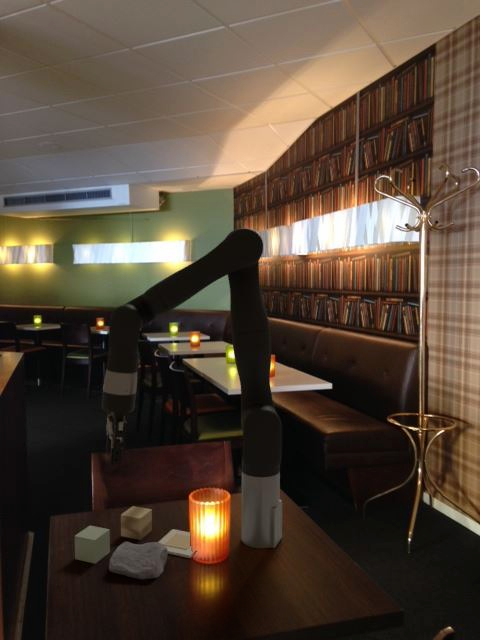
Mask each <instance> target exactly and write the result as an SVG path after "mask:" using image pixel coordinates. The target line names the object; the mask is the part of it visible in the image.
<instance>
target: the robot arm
mask: <svg viewBox="0 0 480 640" xmlns="http://www.w3.org/2000/svg"><path fill="white" fill-rule="evenodd" d="M263 252H264V242H263V239H262V237H261V235H260V234H259V233H258V232H257V231H256V230H254V229H251V228H248V227H240V228H239V227H238V228H236V229H234V230H232V231H230V232H229V233H228V234H227V236H226V237H225V238H224V239H223V240H222V241H220V243H219V244H218V245H216V246H215V247H214V248H213V249H211V250H210V251H209V252H208V253H206V254H204V255H203V256H202V257H200V258H199V259H198V260H195V261H194V262H192V263H190V264H188V265H187V266H185V267H183V268H181V269H180V270H178V271H175V272H174V273H172V274H170V275H169V276H167V277H165V278H163V279H161V280H160V281H159V282H157V283H156V284H154V285H153V286H150V287H149V288H148V289H147V290H145V292H143V293H142V294H140V295H138V296H137V297H135V298H133V299H131V300H129V301H127V302H126V303H124V304H123V305H119V306H118V307H115V309H113V311H112V312H111V315H110V317H109V318H110V319H109V324H108V325H109V326H108V343H109V344H108V346H109V347H108V348H109V349H108V352H107V360H106V361H107V362H106V370H105V375H104V380H103V390H102V396H101V397H102V399H101V409H102V410H103V411H104V412H107V418H106V426H105V431H106V437H107V438H106V447H105V448H106V449H105V450H106V452H107V453H110V459H109V462H110V465H113V466H114V465H120V464H121V461H122V452H123V451H122V450H123V449H125V447H126V444H125V443H126V433H127V426H128V423H127V419H126V416H125V414H127V413H129V414H130V413H131V412H133V411H134V410H135V405H136V397H137V389H138V387H137V386H138V367H139V358H140V357H139V356H140V352H139V349H138V348H139V341H140V340H139V339H140V332H141V329H143V328H144V327H146V326H147V325H148V324H149V323H151V322H153V321H154V320H156V319H157V318H158V317H162V316H163V315H166V314H168V313H169V312H170V311H173V310H174V309H176V308H177V307H179V306H181V305H182V304H183V303H185V302H187V301H189V300H190V299H191V298H193V297H194V296H195V295H197V294H198V293H200V292H202V291H203V290H204V289H205V288H207V287H208V286H210V285H212V284H213V283H215V282H216V281H218V280H219V279H221V278H223V277H225V276H227V279H228V284H229V285H228V286H229V292H230V293H229V294H230V297H229V299H230V300H229V302H230V304H229V305H230V311H229V314H230V330H231V339H232V340H231V341H232V349H233V355H234V356H233V357H234V360H235V366H236V371H237V375H238V378H239V385H240V402H241V404H240V406H241V407H240V426H241V429H242V458H241V532H240V533H241V541H242V543H243V544H244V545H246V546H247V547H251V548H256V549H269V548H271V549H275V548H277V545H278V544H279V543H280V541H281V539H282V538H283V500H282V499H280V497H281V493H280V491H281V489H280V488H281V484H280V482H281V481H280V480H281V479H280V478H281V473H280V472H281V469H280V468H281V462H282V458H283V457H282V454H283V453H282V450H283V449H282V448H283V447H282V446H283V426H282V425H283V424H282V420H281V418H280V416H279V415H278V413H277V411H276V409H275V408H276V407H275V404H274V400H273V396H272V395H273V394H272V390H271V389H272V388H271V380H270V379H271V376H270V375H271V366H272V337H271V329H270V322H269V316H268V313H267V309H266V305H265V301H264V298H263V295H262V292H261V286H260V285H261V284H260V270H259V269H260V267H259V266H260V265H259V263H260V259H261V258H262V255H263ZM117 440H119V441H120V442H118V441H117Z"/></svg>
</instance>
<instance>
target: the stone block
mask: <svg viewBox="0 0 480 640" xmlns="http://www.w3.org/2000/svg"><path fill="white" fill-rule="evenodd" d="M168 555H169V554H168V550H167V547H166V546H165V545H164V544H161V543H159V541H153V542H146V543H142V544H136V543H132V542H130V541H123V542H122V543H121V544H119V546H117V548H116V549H115V551H113V553H112V555H111V557H110V559H109V563H108V564H109V565H108V569H109V572H111V573H113V574H118V575H122V576H123V575H124V576H126V577H128V578H134V579H138V580H148V579H150V580H151V579H156V578H159V577H160V575H162V573H163V572H164V568H165V565H166V563H167V560H168Z"/></svg>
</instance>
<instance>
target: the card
mask: <svg viewBox="0 0 480 640" xmlns="http://www.w3.org/2000/svg"><path fill="white" fill-rule="evenodd" d="M190 533H191V532H189V531H183V530H180V529H173V528H172V529H171V530H170V531H169V532H168V533H166V535H164V536H163V537H162V538H161V539H160V540H159V541H158V542H159V543H161V544H164V545H165V546H166V547H167V550H168V554H167V555H173V556H177V557H178V556H179V557H182V558H183V557H184V558H187V559H191V558H192V557H193V556H194V555H195V554H194V553H193V552H192V551H191V546H190Z"/></svg>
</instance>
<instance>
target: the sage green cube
mask: <svg viewBox="0 0 480 640" xmlns="http://www.w3.org/2000/svg"><path fill="white" fill-rule="evenodd" d="M110 533H111V532H110V529H108V528H105V527H104V528H103V527H99V526H95V525H89V526H86V528H84V529H82V530H81V531H80V532H78V533H76V535H74V559H75V560H79V561H82V562H87V563H91V564H97V563H98V562H99V561H102V559H103V558H105V557H106V556H107V555H108V554H109V553H110V552H111V544H110V543H111V537H110V536H111V534H110Z"/></svg>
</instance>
